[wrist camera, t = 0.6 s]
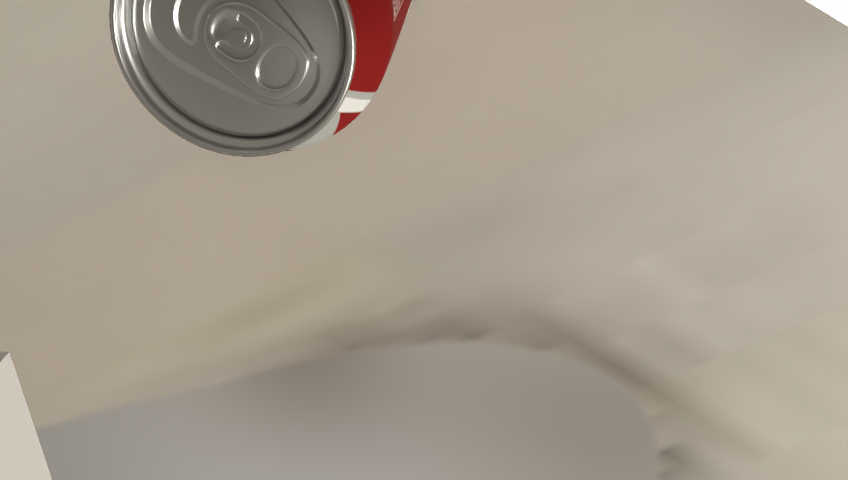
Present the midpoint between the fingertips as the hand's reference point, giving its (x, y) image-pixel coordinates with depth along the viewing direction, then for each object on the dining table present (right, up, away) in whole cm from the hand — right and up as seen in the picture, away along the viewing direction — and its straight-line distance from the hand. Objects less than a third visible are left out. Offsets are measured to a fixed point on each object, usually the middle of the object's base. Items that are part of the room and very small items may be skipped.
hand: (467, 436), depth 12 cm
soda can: (-4, +13, +17) cm, 22 cm away
